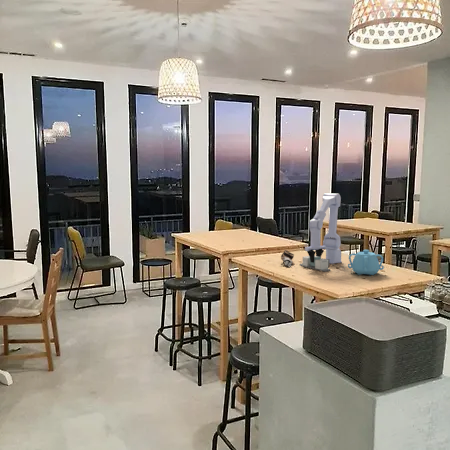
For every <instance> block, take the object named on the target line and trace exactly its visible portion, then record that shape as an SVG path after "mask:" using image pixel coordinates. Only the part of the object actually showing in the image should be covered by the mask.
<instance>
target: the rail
mask: <svg viewBox="0 0 450 450" xmlns="http://www.w3.org/2000/svg"><path fill="white" fill-rule="evenodd" d="M299 266H300V267H304V268H307V267H308V269H310V270H311V269H312V270H315V271H319V272H322V273H325V272H326V273H327V272H331V268H328V269H321V270H320V269H316V268H315V266H305V265H303V262H302V263H299Z"/></svg>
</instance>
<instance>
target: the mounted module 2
mask: <svg viewBox="0 0 450 450" xmlns="http://www.w3.org/2000/svg"><path fill="white" fill-rule="evenodd" d="M315 268H316V269H320V270H321V269H329V266H328V260H326V258H323V259H322V258H321V259H317V260H315Z"/></svg>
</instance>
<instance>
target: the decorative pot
mask: <svg viewBox="0 0 450 450" xmlns="http://www.w3.org/2000/svg"><path fill="white" fill-rule="evenodd" d="M352 256H354V257H353V259H352ZM378 257H380V258H381V259H380V261H379V259H378ZM348 260H349V263H348V264H347V268H349V269H352V271H353V272H354V273H355V274H357V275H358V276H361V275H369V276H371V275H373V276H375V275H376V274H377V273H379V271H382V270H384V268H385V267H384V265H383V262H384V257H383V255H381V254H377V253H375V252H371V251H370V250H369V249H363V250H362V251H358V252H356V253H355V252H354V253H350V254H349V255H348Z"/></svg>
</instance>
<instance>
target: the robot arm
mask: <svg viewBox="0 0 450 450" xmlns="http://www.w3.org/2000/svg"><path fill="white" fill-rule="evenodd" d="M341 199H342V197H341V195H340V193H327V192H325V193H323V195H322V204H321V206H320V209H318V210H317V211H316V212H315V215H314V216H313V218H312V219H310V220H309V224H308V226H309V232H310V246H305V247H304V251H305V252H306V253H307V254H308V256H309V257H310V261H311V262H314V256H319V257H321V258H322V255H323V253H324V252H325V259H330V260H329V265H330V264H331V265H332V264H337V263H338V264H339V263H342V262H343V261H342V251H341V249H340V247H341V245H342V243H341V242H342V241H341V236H340V235H339V234H338V233H337V230H338V229H337V227H338V213H339V207H341V202H342V201H341ZM328 209H329V217H328V230H327V231H328V233H326V234H325V235H324V239H323V241H322V245H321V235H322V234H321V233H322V232H321V231H322V228H323V224H324V220H325V218H326V216H327V214H326V212H327V211H328Z"/></svg>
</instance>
